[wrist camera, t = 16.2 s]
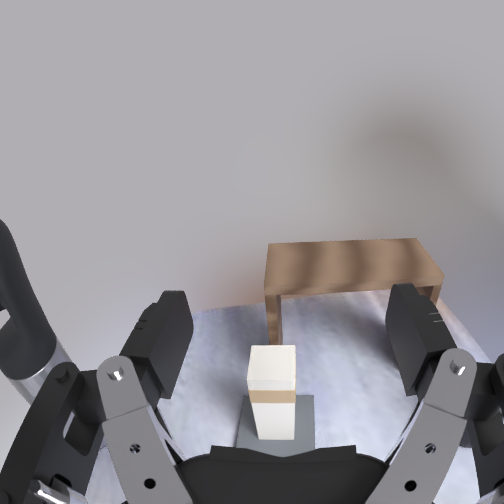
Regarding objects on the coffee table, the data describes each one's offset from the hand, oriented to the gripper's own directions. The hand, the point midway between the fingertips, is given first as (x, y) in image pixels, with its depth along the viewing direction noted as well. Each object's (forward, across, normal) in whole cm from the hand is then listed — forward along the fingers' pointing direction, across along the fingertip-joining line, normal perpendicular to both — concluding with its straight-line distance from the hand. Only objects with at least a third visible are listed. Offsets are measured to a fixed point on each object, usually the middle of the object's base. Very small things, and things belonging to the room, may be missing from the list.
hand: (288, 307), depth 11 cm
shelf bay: (+23, -8, +30) cm, 39 cm away
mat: (+10, +2, +30) cm, 32 cm away
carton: (+10, +2, +29) cm, 31 cm away
